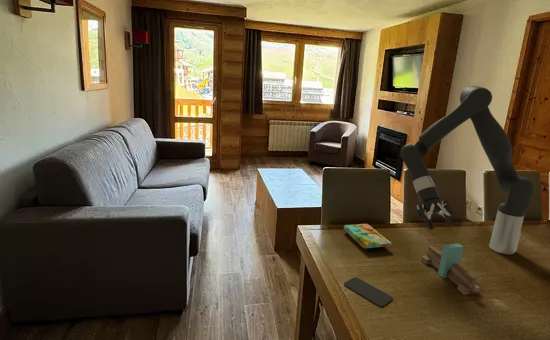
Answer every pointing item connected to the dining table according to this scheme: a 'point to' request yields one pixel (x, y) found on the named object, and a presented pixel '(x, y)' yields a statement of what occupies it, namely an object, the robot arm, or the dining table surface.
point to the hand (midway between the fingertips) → (441, 227)
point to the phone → (368, 292)
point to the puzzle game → (366, 236)
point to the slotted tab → (449, 258)
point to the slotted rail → (453, 272)
